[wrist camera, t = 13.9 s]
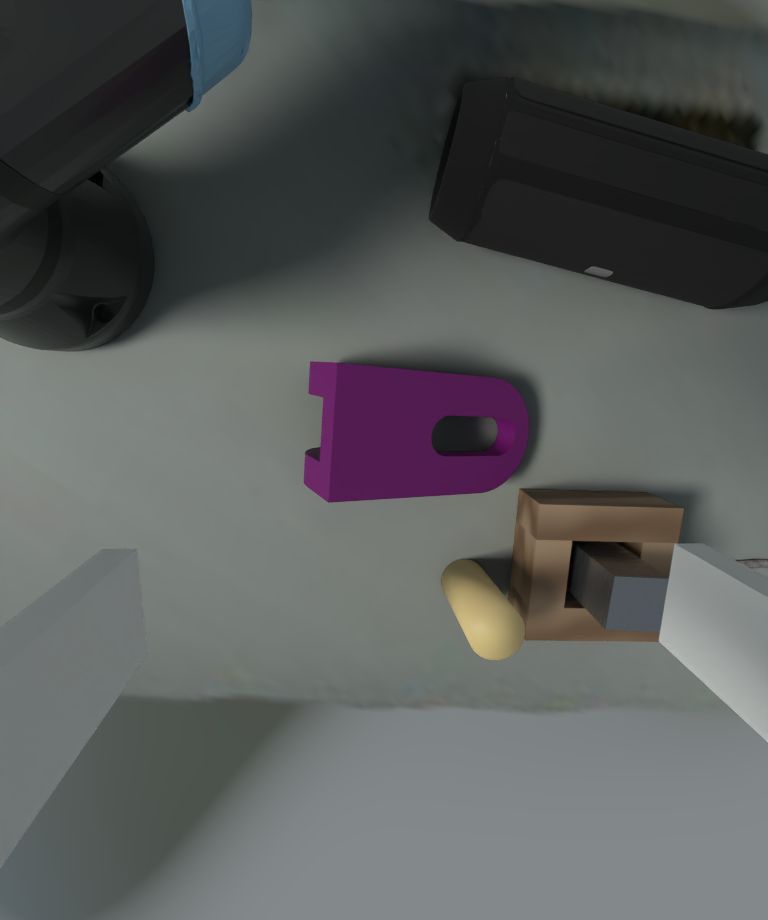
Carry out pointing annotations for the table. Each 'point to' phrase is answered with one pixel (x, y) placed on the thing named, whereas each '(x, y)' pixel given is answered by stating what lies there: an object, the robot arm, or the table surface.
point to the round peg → (482, 610)
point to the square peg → (616, 586)
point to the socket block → (549, 548)
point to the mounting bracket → (407, 433)
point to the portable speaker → (604, 194)
